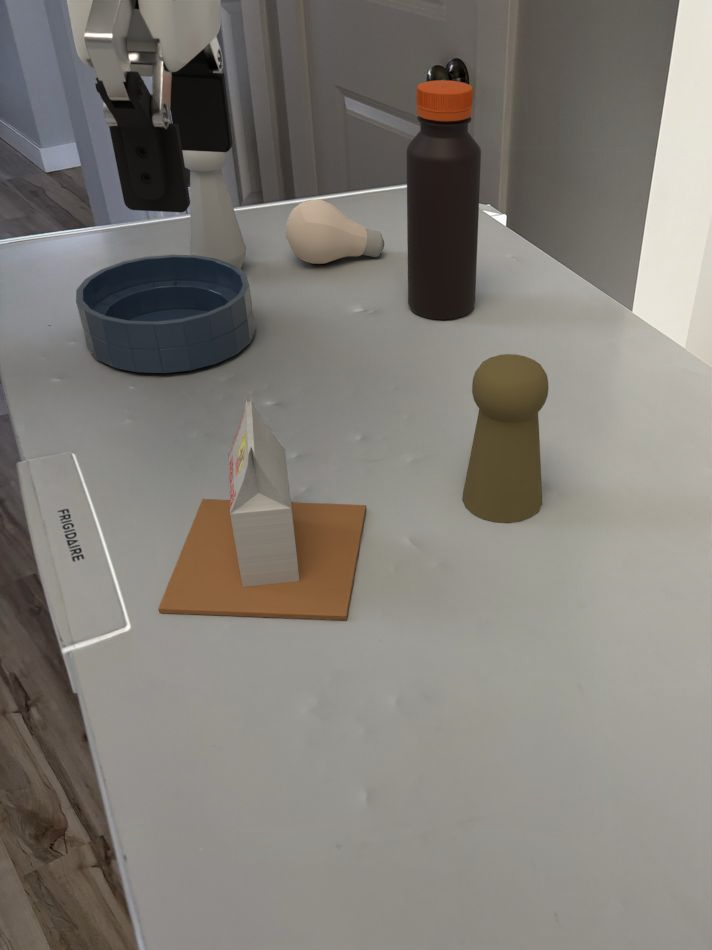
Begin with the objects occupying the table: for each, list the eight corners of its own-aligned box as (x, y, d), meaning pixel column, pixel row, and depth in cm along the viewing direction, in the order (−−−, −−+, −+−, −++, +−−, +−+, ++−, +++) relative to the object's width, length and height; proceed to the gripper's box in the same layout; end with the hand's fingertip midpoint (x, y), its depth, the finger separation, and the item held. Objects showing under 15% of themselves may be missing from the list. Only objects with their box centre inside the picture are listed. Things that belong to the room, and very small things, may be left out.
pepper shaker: (458, 476, 71) (462, 343, 64) (536, 474, 72) (549, 342, 64) (466, 524, 67) (471, 387, 60) (549, 521, 67) (564, 384, 60)
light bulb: (386, 202, 103) (289, 180, 98) (398, 235, 99) (297, 214, 94) (370, 255, 107) (276, 236, 103) (380, 288, 103) (283, 271, 99)
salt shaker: (240, 257, 102) (223, 129, 94) (255, 276, 99) (239, 145, 90) (187, 265, 100) (165, 136, 92) (201, 285, 97) (179, 152, 88)
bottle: (487, 303, 95) (498, 85, 82) (451, 327, 91) (457, 101, 77) (431, 287, 98) (433, 73, 84) (394, 310, 93) (390, 88, 80)
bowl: (65, 374, 82) (50, 320, 79) (117, 301, 93) (106, 252, 90) (236, 380, 82) (228, 327, 79) (268, 306, 93) (262, 257, 90)
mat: (159, 613, 59) (158, 608, 59) (203, 503, 68) (202, 498, 68) (346, 620, 59) (346, 616, 59) (366, 509, 68) (366, 504, 68)
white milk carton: (293, 520, 66) (278, 395, 59) (299, 581, 61) (284, 452, 54) (240, 525, 66) (219, 399, 59) (242, 587, 61) (220, 457, 54)
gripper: (96, -249, 46) (158, 128, 57) (-65, -255, 33) (58, 233, 44) (248, -243, 45) (280, 134, 57) (147, -246, 33) (215, 241, 44)
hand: (183, 177), depth 51 cm, fingers open, 9 cm apart
